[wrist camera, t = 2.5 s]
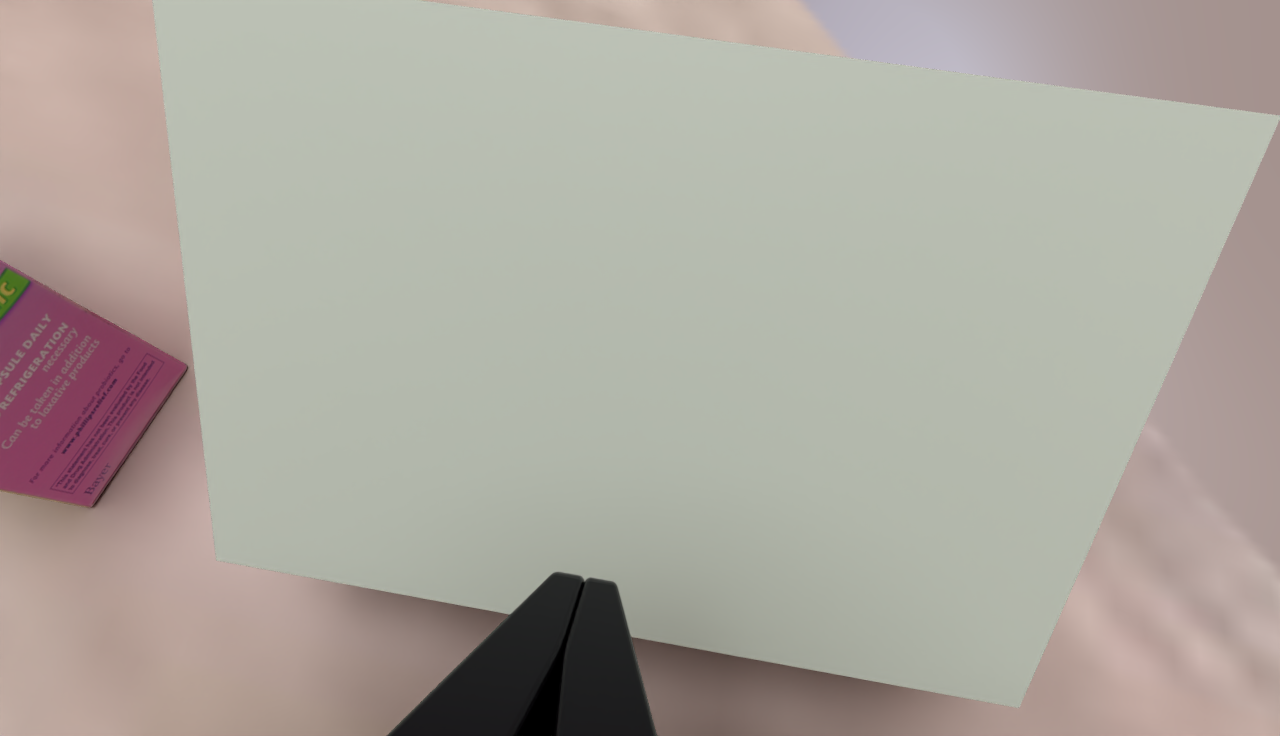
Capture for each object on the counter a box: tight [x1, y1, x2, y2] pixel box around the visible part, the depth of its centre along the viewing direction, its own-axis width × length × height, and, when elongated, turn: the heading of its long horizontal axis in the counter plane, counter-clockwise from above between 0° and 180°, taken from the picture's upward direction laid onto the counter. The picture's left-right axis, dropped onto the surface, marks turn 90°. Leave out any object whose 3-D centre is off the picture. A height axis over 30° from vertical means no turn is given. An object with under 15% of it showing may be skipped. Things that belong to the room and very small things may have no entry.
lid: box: [152, 0, 1280, 708], centre depth 13 cm, size 12×18×1 cm
